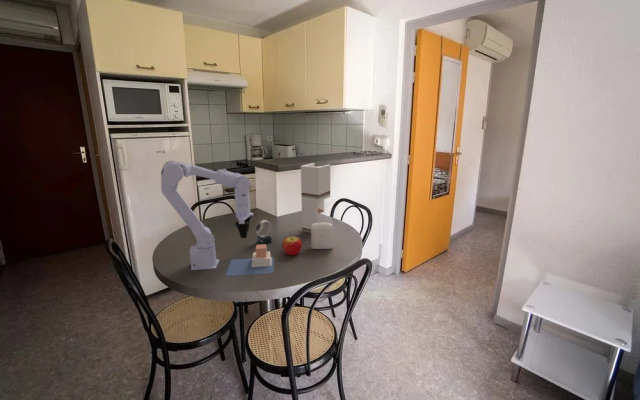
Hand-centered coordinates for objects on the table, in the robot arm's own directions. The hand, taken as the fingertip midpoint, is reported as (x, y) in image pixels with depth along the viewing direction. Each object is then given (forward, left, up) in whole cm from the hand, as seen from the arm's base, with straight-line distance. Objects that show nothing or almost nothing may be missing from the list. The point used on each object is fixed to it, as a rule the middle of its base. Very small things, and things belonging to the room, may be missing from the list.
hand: (244, 234), depth 128 cm
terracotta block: (+7, -7, -7) cm, 12 cm away
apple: (+20, 0, -11) cm, 23 cm away
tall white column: (+34, +29, -11) cm, 46 cm away
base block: (+7, -7, -10) cm, 14 cm away
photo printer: (+34, +5, -11) cm, 36 cm away
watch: (+7, +15, -11) cm, 20 cm away
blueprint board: (+3, -10, -10) cm, 15 cm away
